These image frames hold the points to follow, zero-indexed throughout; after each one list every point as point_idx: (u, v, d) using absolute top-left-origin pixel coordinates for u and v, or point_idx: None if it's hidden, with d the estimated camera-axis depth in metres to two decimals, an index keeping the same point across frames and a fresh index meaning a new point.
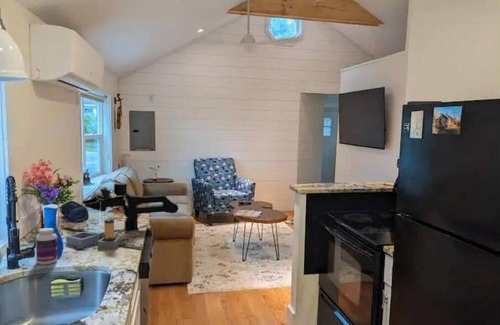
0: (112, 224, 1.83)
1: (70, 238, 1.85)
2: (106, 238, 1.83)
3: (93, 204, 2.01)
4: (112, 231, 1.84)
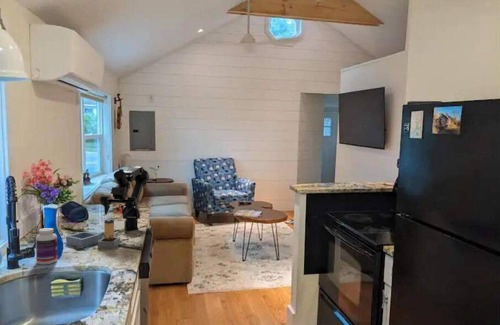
0: (112, 224, 1.83)
1: (70, 238, 1.85)
2: (106, 238, 1.83)
3: (127, 208, 1.94)
4: (112, 231, 1.84)
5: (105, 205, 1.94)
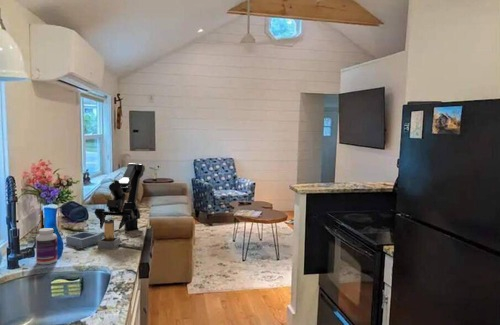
0: (112, 224, 1.83)
1: (70, 238, 1.85)
2: (106, 238, 1.83)
3: (123, 221, 1.88)
4: (112, 231, 1.84)
5: (100, 218, 1.88)
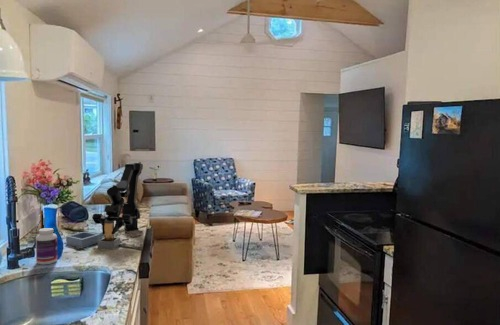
0: (112, 224, 1.83)
1: (70, 238, 1.85)
2: (106, 238, 1.83)
3: (117, 226, 1.86)
4: (112, 231, 1.84)
5: (103, 224, 1.85)
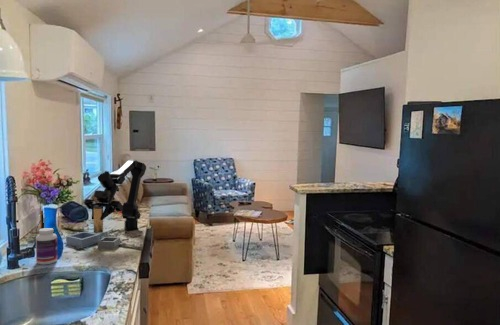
0: (101, 210, 1.83)
1: (70, 238, 1.85)
2: (95, 223, 1.83)
3: (106, 212, 1.85)
4: None
5: (93, 209, 1.86)
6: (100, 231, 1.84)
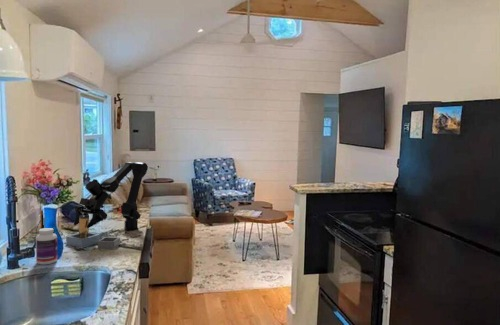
0: (85, 220, 1.87)
1: (70, 238, 1.85)
2: (79, 233, 1.87)
3: (93, 221, 1.86)
4: (85, 227, 1.87)
5: (77, 215, 1.91)
6: None
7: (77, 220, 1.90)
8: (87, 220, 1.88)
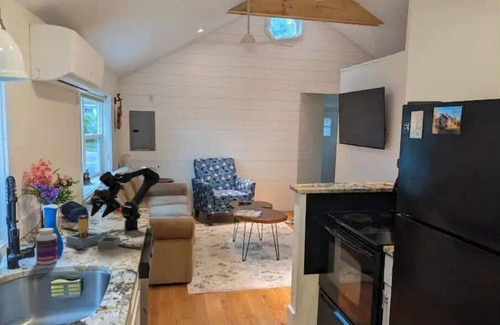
0: (84, 220, 1.86)
1: (70, 238, 1.85)
2: (79, 233, 1.87)
3: (107, 210, 1.94)
4: (84, 227, 1.87)
5: (93, 207, 2.00)
6: None
7: (93, 211, 1.99)
8: (86, 220, 1.87)
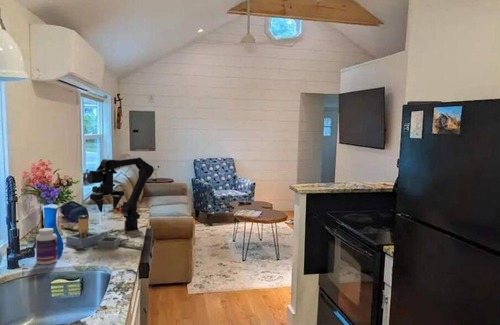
0: (84, 220, 1.86)
1: (70, 238, 1.85)
2: (79, 233, 1.87)
3: (98, 204, 2.01)
4: (84, 227, 1.87)
5: None
6: None
7: (114, 204, 2.10)
8: (86, 220, 1.87)
